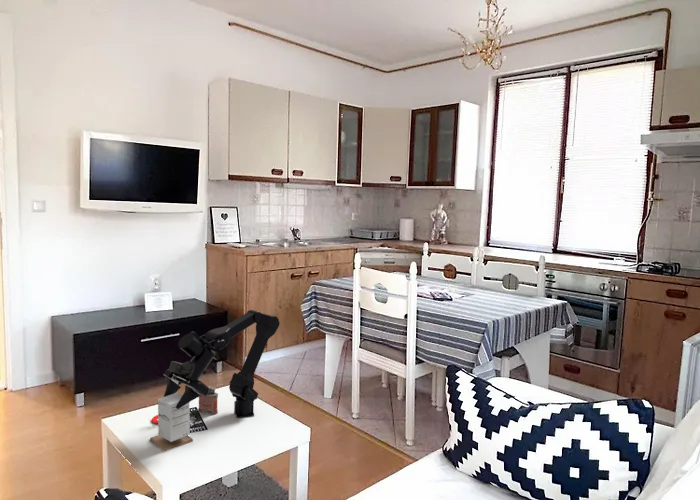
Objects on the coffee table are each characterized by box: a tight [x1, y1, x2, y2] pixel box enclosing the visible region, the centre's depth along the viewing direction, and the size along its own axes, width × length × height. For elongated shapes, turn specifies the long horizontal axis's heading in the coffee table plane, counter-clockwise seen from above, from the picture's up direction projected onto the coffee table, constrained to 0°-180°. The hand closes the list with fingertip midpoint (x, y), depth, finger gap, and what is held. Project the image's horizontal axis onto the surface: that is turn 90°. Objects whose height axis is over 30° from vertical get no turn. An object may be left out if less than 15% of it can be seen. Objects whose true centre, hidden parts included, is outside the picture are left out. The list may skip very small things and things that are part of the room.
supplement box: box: [157, 392, 191, 442], centre depth 163 cm, size 7×7×13 cm
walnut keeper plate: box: [149, 434, 194, 452], centre depth 165 cm, size 10×10×1 cm
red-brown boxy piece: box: [197, 385, 219, 416], centre depth 188 cm, size 8×3×10 cm, turn 71°
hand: (170, 405), depth 162 cm, fingers closed on supplement box, 7 cm apart
